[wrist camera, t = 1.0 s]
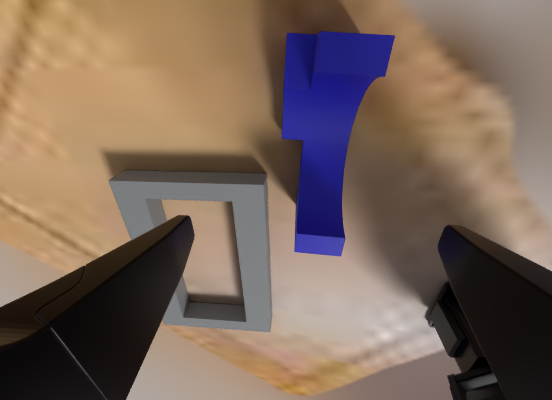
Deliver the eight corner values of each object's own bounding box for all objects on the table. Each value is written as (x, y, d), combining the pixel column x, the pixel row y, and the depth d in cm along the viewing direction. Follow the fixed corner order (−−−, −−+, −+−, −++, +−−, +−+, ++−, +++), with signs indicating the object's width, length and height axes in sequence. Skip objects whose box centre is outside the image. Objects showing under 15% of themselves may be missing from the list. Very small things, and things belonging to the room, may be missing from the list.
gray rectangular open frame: (266, 173, 20) (263, 185, 19) (272, 315, 30) (270, 332, 28) (123, 170, 21) (108, 180, 20) (172, 308, 31) (164, 324, 29)
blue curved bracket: (289, 35, 16) (283, 29, 11) (363, 39, 15) (394, 35, 10) (278, 202, 22) (271, 249, 17) (331, 206, 22) (340, 256, 16)
